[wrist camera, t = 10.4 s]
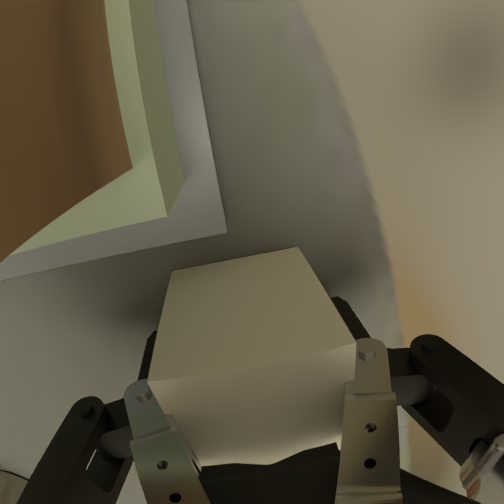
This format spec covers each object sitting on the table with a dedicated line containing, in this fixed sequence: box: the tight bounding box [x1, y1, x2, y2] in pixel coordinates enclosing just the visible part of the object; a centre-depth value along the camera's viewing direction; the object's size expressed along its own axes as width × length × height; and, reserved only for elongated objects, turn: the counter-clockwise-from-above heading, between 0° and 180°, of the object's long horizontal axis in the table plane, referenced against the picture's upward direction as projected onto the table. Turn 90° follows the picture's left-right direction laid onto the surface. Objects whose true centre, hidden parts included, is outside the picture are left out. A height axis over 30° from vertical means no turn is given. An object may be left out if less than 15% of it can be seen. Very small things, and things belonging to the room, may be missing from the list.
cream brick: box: [147, 247, 356, 466], centre depth 11 cm, size 5×5×6 cm
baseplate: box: [0, 0, 227, 281], centre depth 9 cm, size 12×12×1 cm
